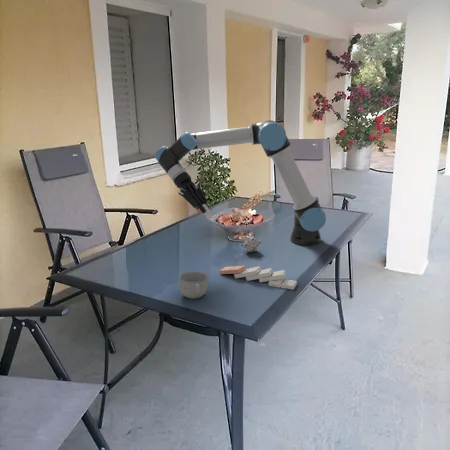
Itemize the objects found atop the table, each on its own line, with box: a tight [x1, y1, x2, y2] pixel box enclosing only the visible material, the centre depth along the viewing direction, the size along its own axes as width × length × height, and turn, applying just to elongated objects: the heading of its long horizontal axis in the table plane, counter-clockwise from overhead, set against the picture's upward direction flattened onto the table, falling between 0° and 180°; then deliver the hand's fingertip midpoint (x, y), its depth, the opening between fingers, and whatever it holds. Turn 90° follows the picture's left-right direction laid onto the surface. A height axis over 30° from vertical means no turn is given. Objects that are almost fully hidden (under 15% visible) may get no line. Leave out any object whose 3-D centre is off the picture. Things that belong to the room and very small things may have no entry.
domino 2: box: [233, 265, 262, 279], centre depth 180 cm, size 2×5×10 cm
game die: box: [240, 234, 262, 254], centre depth 207 cm, size 9×8×10 cm
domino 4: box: [258, 269, 287, 283], centre depth 176 cm, size 2×5×10 cm
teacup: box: [178, 270, 209, 300], centre depth 164 cm, size 14×11×8 cm
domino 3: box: [245, 267, 274, 282], centre depth 177 cm, size 2×5×10 cm
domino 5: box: [268, 278, 298, 290], centre depth 172 cm, size 2×5×10 cm
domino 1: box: [219, 265, 247, 275], centre depth 183 cm, size 2×5×10 cm
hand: (211, 217), depth 190 cm, fingers closed
